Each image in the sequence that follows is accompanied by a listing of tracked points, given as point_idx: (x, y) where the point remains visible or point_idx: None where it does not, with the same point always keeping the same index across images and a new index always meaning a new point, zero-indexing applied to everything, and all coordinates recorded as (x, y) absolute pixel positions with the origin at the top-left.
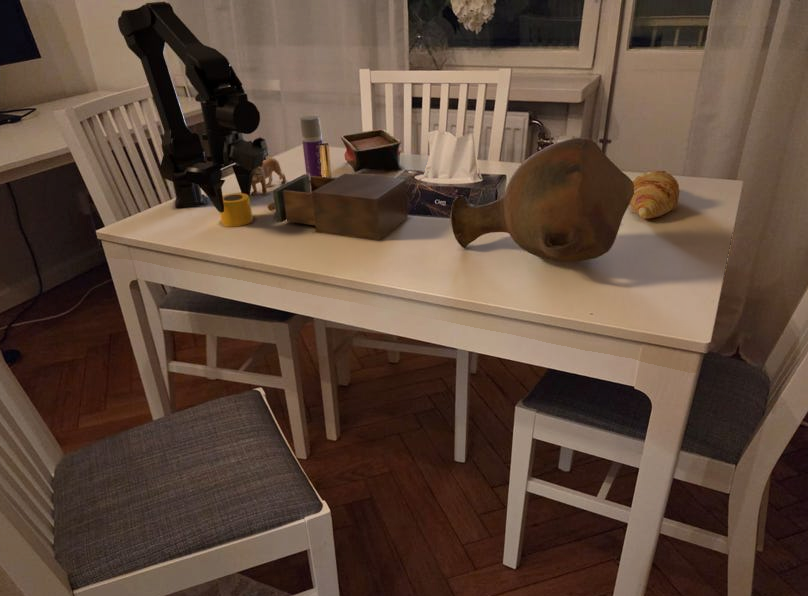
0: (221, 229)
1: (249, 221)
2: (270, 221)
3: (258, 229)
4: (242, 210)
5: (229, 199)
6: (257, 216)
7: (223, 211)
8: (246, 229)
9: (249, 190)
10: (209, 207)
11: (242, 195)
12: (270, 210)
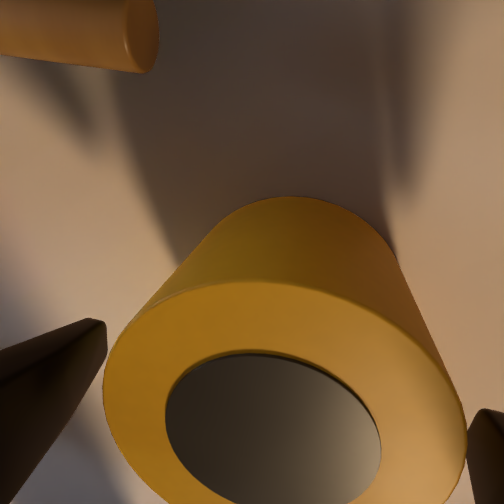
0: (462, 338)
1: (311, 199)
2: (246, 28)
3: (465, 32)
4: (370, 260)
5: (345, 460)
6: (173, 203)
7: (496, 412)
8: (463, 152)
9: (22, 355)
10: (134, 494)
11: (168, 375)
12: (157, 41)
